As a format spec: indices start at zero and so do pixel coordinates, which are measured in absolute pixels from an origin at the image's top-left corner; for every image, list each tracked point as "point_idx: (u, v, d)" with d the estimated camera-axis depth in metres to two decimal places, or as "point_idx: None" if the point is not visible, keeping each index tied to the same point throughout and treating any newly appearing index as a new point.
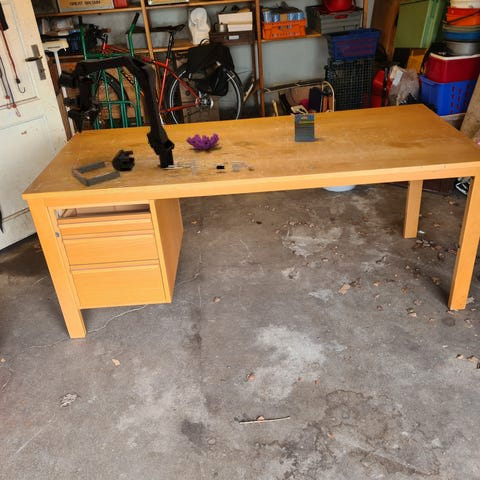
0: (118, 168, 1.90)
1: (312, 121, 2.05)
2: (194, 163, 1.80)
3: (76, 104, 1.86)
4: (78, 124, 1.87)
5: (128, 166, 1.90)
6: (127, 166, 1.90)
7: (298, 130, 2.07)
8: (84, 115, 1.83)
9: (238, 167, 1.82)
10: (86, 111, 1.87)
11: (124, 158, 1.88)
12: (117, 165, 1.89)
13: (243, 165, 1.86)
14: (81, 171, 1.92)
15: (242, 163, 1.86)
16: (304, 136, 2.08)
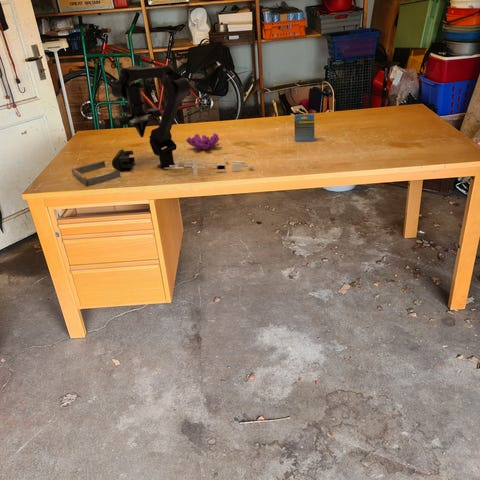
0: (118, 168, 1.90)
1: (312, 121, 2.05)
2: (195, 163, 1.81)
3: (128, 111, 1.89)
4: (137, 128, 1.92)
5: (128, 166, 1.90)
6: (127, 166, 1.90)
7: (298, 130, 2.07)
8: (127, 121, 1.85)
9: (239, 167, 1.82)
10: (144, 115, 1.90)
11: (124, 158, 1.88)
12: (117, 165, 1.89)
13: (244, 165, 1.86)
14: (81, 171, 1.92)
15: (243, 163, 1.86)
16: (304, 136, 2.08)
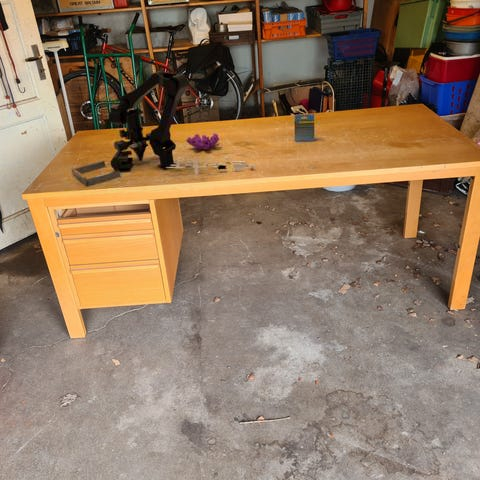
0: (117, 168, 1.89)
1: (312, 121, 2.05)
2: (196, 163, 1.81)
3: (127, 136, 1.93)
4: (136, 152, 1.96)
5: (127, 166, 1.89)
6: (126, 166, 1.89)
7: (298, 130, 2.07)
8: (125, 146, 1.89)
9: (240, 167, 1.82)
10: (143, 140, 1.94)
11: (123, 158, 1.88)
12: (116, 165, 1.89)
13: (245, 165, 1.86)
14: (81, 171, 1.92)
15: (244, 163, 1.86)
16: (304, 136, 2.08)
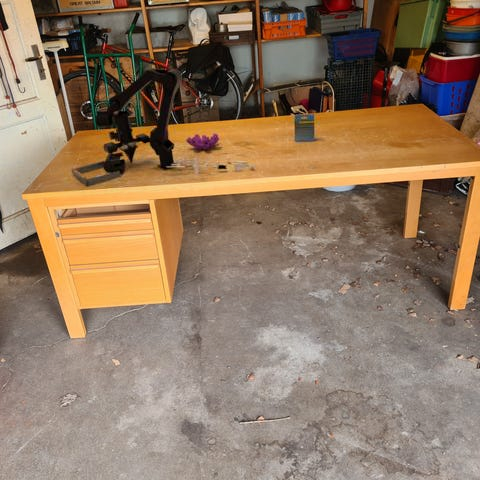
0: (110, 171, 1.87)
1: (312, 121, 2.05)
2: (196, 162, 1.81)
3: (117, 138, 1.91)
4: (127, 154, 1.93)
5: (120, 168, 1.87)
6: (119, 168, 1.87)
7: (298, 130, 2.07)
8: (115, 148, 1.86)
9: (240, 167, 1.82)
10: (134, 141, 1.91)
11: (115, 160, 1.85)
12: (109, 168, 1.86)
13: (245, 165, 1.86)
14: (81, 171, 1.92)
15: (244, 163, 1.86)
16: (304, 136, 2.08)
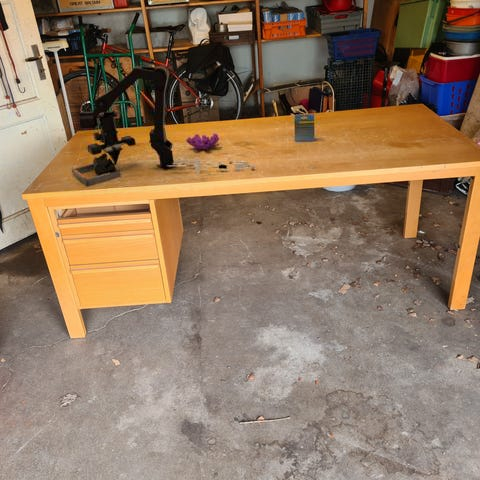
0: None
1: (312, 121, 2.05)
2: (197, 161, 1.82)
3: (101, 139, 1.87)
4: (111, 156, 1.90)
5: (112, 167, 1.84)
6: (111, 167, 1.84)
7: (298, 130, 2.07)
8: (99, 150, 1.83)
9: (240, 167, 1.82)
10: (118, 143, 1.88)
11: (104, 161, 1.82)
12: (102, 172, 1.83)
13: (246, 165, 1.86)
14: (81, 171, 1.92)
15: (245, 163, 1.86)
16: (304, 136, 2.08)
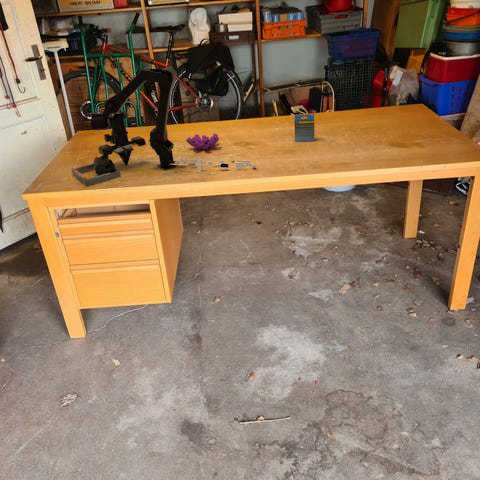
0: None
1: (312, 121, 2.05)
2: (199, 160, 1.83)
3: (112, 140, 1.90)
4: (121, 157, 1.92)
5: (112, 167, 1.84)
6: (111, 168, 1.84)
7: (298, 130, 2.07)
8: (110, 151, 1.85)
9: (242, 166, 1.83)
10: (128, 144, 1.90)
11: (105, 161, 1.82)
12: (102, 172, 1.83)
13: (248, 164, 1.87)
14: (81, 171, 1.92)
15: (247, 162, 1.86)
16: (304, 136, 2.08)
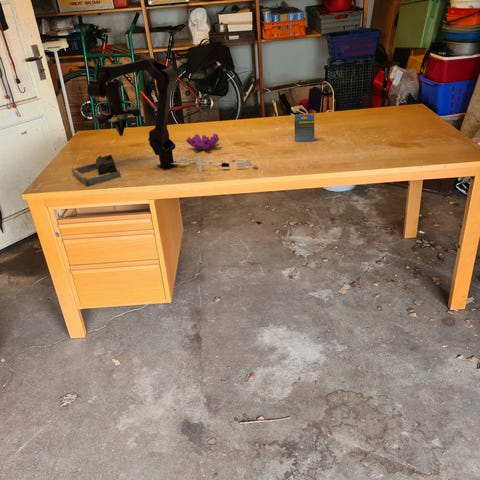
0: None
1: (312, 121, 2.05)
2: (199, 160, 1.84)
3: (107, 110, 1.88)
4: (116, 127, 1.91)
5: (115, 169, 1.85)
6: (114, 170, 1.85)
7: (298, 130, 2.07)
8: (105, 119, 1.84)
9: (243, 166, 1.84)
10: (123, 114, 1.89)
11: (110, 162, 1.83)
12: (104, 171, 1.83)
13: (249, 163, 1.87)
14: (81, 171, 1.92)
15: (248, 161, 1.87)
16: (304, 136, 2.08)
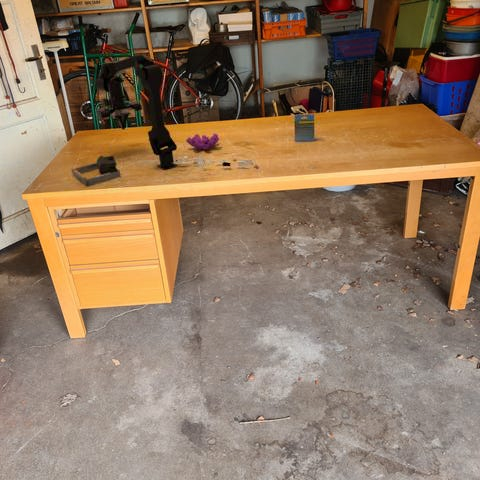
0: None
1: (312, 121, 2.05)
2: (201, 159, 1.84)
3: (110, 104, 1.98)
4: (118, 121, 2.00)
5: (116, 170, 1.85)
6: None
7: (298, 130, 2.07)
8: (108, 113, 1.93)
9: (244, 165, 1.84)
10: (125, 108, 1.99)
11: (112, 162, 1.83)
12: (105, 171, 1.83)
13: (250, 163, 1.88)
14: (81, 171, 1.92)
15: (249, 161, 1.88)
16: (304, 136, 2.08)
